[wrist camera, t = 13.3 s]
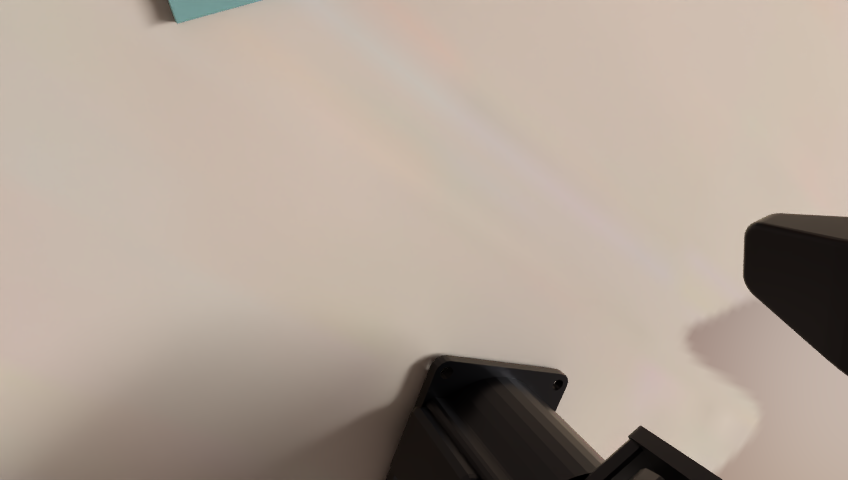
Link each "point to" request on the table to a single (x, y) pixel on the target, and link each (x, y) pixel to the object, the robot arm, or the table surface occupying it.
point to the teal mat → (202, 7)
